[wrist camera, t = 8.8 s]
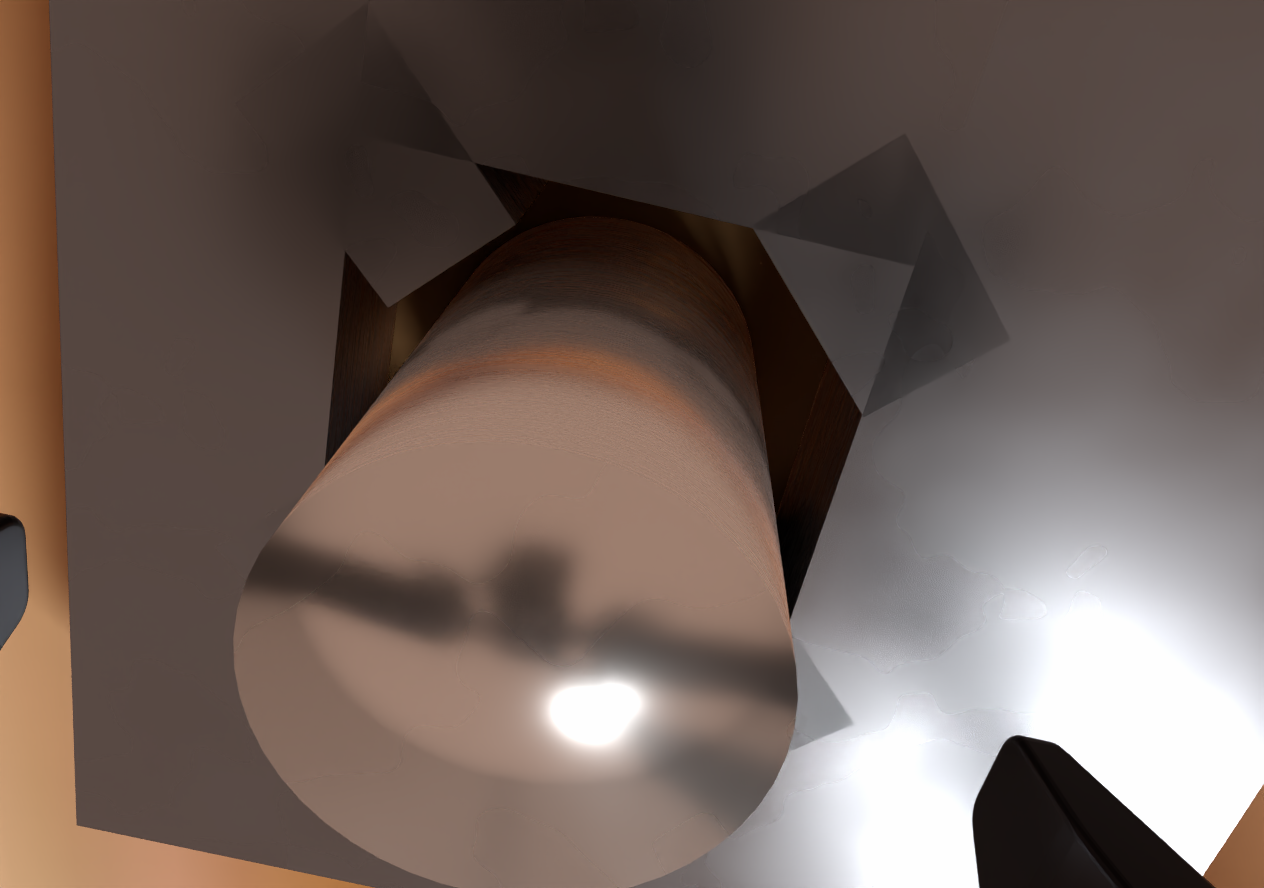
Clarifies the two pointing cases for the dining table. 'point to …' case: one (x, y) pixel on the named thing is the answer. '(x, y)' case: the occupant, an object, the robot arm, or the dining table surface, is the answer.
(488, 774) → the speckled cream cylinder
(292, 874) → the dining table surface
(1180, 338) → the duct plate
